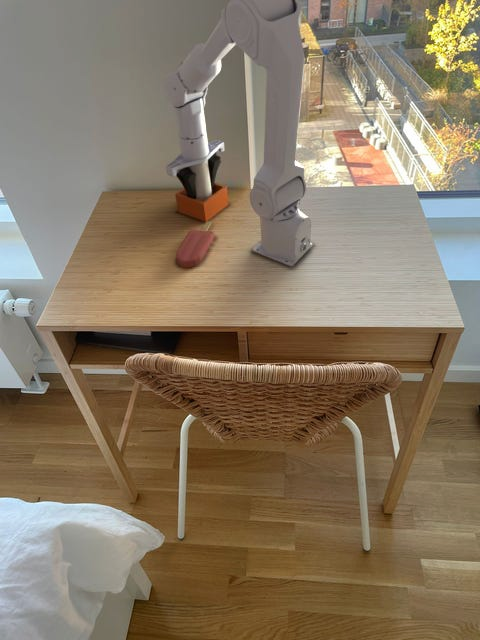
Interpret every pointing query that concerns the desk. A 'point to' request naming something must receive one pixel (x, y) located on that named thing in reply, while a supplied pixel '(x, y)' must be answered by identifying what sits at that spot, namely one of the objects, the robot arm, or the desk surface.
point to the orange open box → (203, 203)
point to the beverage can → (202, 181)
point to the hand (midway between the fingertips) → (201, 192)
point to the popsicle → (195, 246)
